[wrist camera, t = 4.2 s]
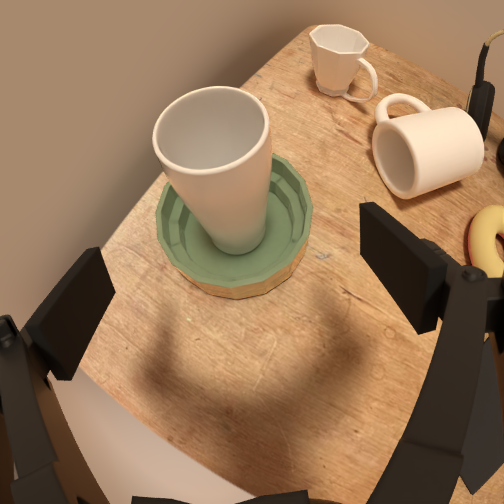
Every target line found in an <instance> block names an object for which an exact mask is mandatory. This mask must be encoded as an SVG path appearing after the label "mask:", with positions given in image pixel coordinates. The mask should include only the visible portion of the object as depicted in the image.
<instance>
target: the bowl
mask: <svg viewBox="0 0 504 504" xmlns="http://www.w3.org/2000/svg"><path fill="white" fill-rule="evenodd" d="M312 212H313V205H312V201H311V198H310V195H309V192H308V188H307V185H306V182H305V180H304V179H303V178H302V176H301V175H300V174H299V173H298V172H297V171H296V170H295V169H294V167H293V166H292V165H291V164H290V163H289V162H288V161H287V160H286V159H284V158H282V157H280V156H278V155H276V154H274V153H272V172H271V181H270V189H269V196H268V204H267V212H266V231H265V235H264V238H263V240H262V241H261V243H260V244H259V245H258V246H257V247H256V248H255V249H253V250H252V251H250V252H248V253H245V254H240V255H232V254H228V253H225V252H223V251H221V250H219V249H218V248H217V247H216V246H215V245H214V244H213V242H212V241H211V239H210V237H209V235H208V234H207V233H206V231H205V230H204V229H203V227H202V226H201V225H200V223H199V222H198V221H197V220H196V218H195V217H194V216H193V214H192V213H191V212H190V211H189V209H188V208H187V207H186V206H185V204H184V203H183V202H182V200H181V199H180V198H179V196H178V195H177V193H176V192H175V190H174V189H173V187H172V186H171V184H170V182H169V181H168V182H167V183H166V185H165V186H164V189H163V192H162V194H161V197H160V200H159V203H158V206H157V209H156V225H157V237H158V241H159V243H160V244H161V246H162V248H163V250H164V251H165V253H166V255H167V257H168V258H169V260H170V262H171V264H172V265H173V266H174V267H175V268H176V269H177V270H178V271H179V272H180V273H181V274H182V275H183V276H184V277H185V278H186V279H188V280H189V281H190V282H192V283H193V284H195V285H196V286H198V287H199V288H201V289H202V290H203V291H205V292H206V293H208V294H212V295H217V296H222V297H227V298H232V299H241V298H246V297H251V296H256V295H261V294H265V293H267V292H268V291H270V290H271V289H273V288H274V287H276V286H277V285H279V284H280V283H282V282H283V281H285V280H286V279H288V278H289V277H290V276H291V274H292V273H293V271H294V270H295V268H296V266H297V265H298V263H299V262H300V260H301V259H302V257H303V256H304V253H305V249H306V245H307V242H308V238H309V233H310V226H311V219H312Z"/></svg>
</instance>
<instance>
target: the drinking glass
mask: <svg viewBox="0 0 504 504" xmlns="http://www.w3.org/2000/svg"><path fill="white" fill-rule="evenodd" d="M152 142H153V147H154V151H155V153H156V155H157V157H158V159H159V162H160V164H161V166H162V168H163V171H164V173H165V175H166V177H167V179H168V180H169V182H170V184H171V186H172V187H173V189H174V190H175V192H176V193H177V195H178V196H179V198H180V199H181V200H182V202H183V203H184V204H185V206H186V207H187V208H188V209H189V211H190V212H191V213H192V214H193V216H194V217H195V218H196V220H197V221H198V222H199V223H200V225H201V226H202V227H203V229H204V230H205V231H206V233H207V234H208V235H209V237H210V239H211V241H212V242H213V244H214V245H215V246H216V247H217V248H218V249H219V250H221V251H223V252H225V253H228V254H232V255H240V254H245V253H248V252H250V251H252V250H253V249H255V248H256V247H257V246H258V245H259V244H260V243H261V241H262V240H263V238H264V235H265V231H266V212H267V204H268V196H269V189H270V181H271V172H272V139H271V130H270V120H269V115H268V112H267V110H266V108H265V107H264V105H263V104H262V103H261V101H260V100H258V99H257V98H256V97H255V96H253V95H252V94H250V93H248V92H246V91H244V90H241V89H238V88H233V87H226V86H214V87H206V88H202V89H198V90H195V91H192V92H190V93H187V94H185V95H183V96H181V97H180V98H178V99H177V100H175V101H174V102H173V103H171V104H170V105H169V106H168V107H167V108H166V109H165V110H164V111H163V113H162V114H161V115H160V117H159V118H158V120H157V122H156V124H155V127H154V130H153V136H152Z"/></svg>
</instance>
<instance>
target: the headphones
mask: <svg viewBox="0 0 504 504" xmlns="http://www.w3.org/2000/svg"><path fill="white" fill-rule="evenodd" d="M502 34H504V30H501V31H498V32H496V33H494V34H493V35H492V36H490V37H489V38H488V40H487V41H486V42H485V43H484V45H483V48H482V50H481V53H480V56H479V60H478V66H477V72H476V80H475V85H474V86H472V88H471V91H470V94H469V97H468V101H467V106H466V113H467V114H468V115H469V116H470V117H471V118H472V119H473V120H474V122H475V123H476V125H477V126H478V128H479V130H480V133H481V135H482V139H483V142H484V141H485V139H486V135H487V131H488V126H489V121H490V117H491V112H492V106H493V101H494V95H495V88H494V86H493V85H492V84H491V83H490V82H487V81H483V79H484V66H485V59H486V56H487V53H488V50H489V44H490V43H491V41H492V40H493V39H495V38H496V37H498V36H500V35H502ZM499 155H500V159H501V161H502V162H503V164H504V138H503V140H502V142H501V145H500V149H499Z"/></svg>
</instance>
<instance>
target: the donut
mask: <svg viewBox="0 0 504 504" xmlns="http://www.w3.org/2000/svg"><path fill="white" fill-rule="evenodd" d="M496 234H499V235H500V236H501V237H502V238H503V239H504V206H501V205H489V206H486V207H484V208H483V209H481V210H480V211H479V212H478V213H477V214H476V215H475V217H474V219H473V220H472V223H471V225H470V229H469V235H468V249H469V255H470V259H471V263H472V266H475V267H478V268H480V269H482V270H484V271H485V273H486V274H487V276H488V278H494V277H502V275H503V271H504V262H503V261H502V260H501V259H500V257H499V255H498V253H497V250H496V245H495V236H496Z"/></svg>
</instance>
